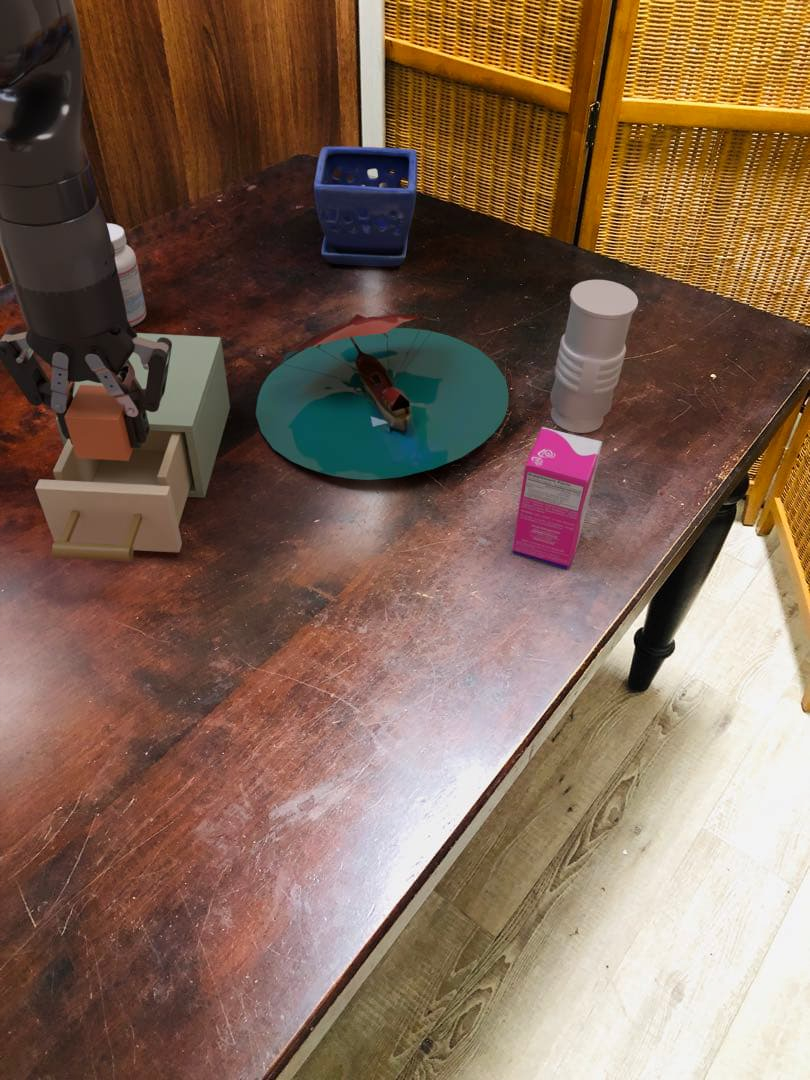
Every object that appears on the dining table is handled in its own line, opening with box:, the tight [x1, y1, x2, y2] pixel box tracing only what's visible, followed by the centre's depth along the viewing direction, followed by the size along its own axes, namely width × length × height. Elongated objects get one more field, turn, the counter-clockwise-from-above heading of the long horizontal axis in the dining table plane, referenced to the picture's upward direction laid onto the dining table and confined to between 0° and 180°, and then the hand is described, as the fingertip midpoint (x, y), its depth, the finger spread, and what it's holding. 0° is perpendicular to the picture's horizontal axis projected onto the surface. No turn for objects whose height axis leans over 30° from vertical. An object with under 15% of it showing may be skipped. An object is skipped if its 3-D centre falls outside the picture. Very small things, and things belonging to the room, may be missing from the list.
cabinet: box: [55, 332, 231, 499], centre depth 89 cm, size 15×13×9 cm
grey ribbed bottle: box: [549, 279, 639, 434], centre depth 93 cm, size 7×7×15 cm
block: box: [64, 385, 133, 461], centre depth 76 cm, size 4×4×4 cm
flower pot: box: [313, 146, 418, 267], centre depth 119 cm, size 13×13×12 cm
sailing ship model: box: [255, 313, 510, 481], centre depth 95 cm, size 28×28×11 cm
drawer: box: [34, 430, 193, 563], centre depth 81 cm, size 19×11×7 cm, turn 178°
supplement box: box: [511, 426, 603, 571], centre depth 81 cm, size 6×6×12 cm
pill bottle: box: [106, 222, 147, 328], centre depth 105 cm, size 6×6×11 cm
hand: (109, 440), depth 77 cm, fingers closed on block, 4 cm apart
